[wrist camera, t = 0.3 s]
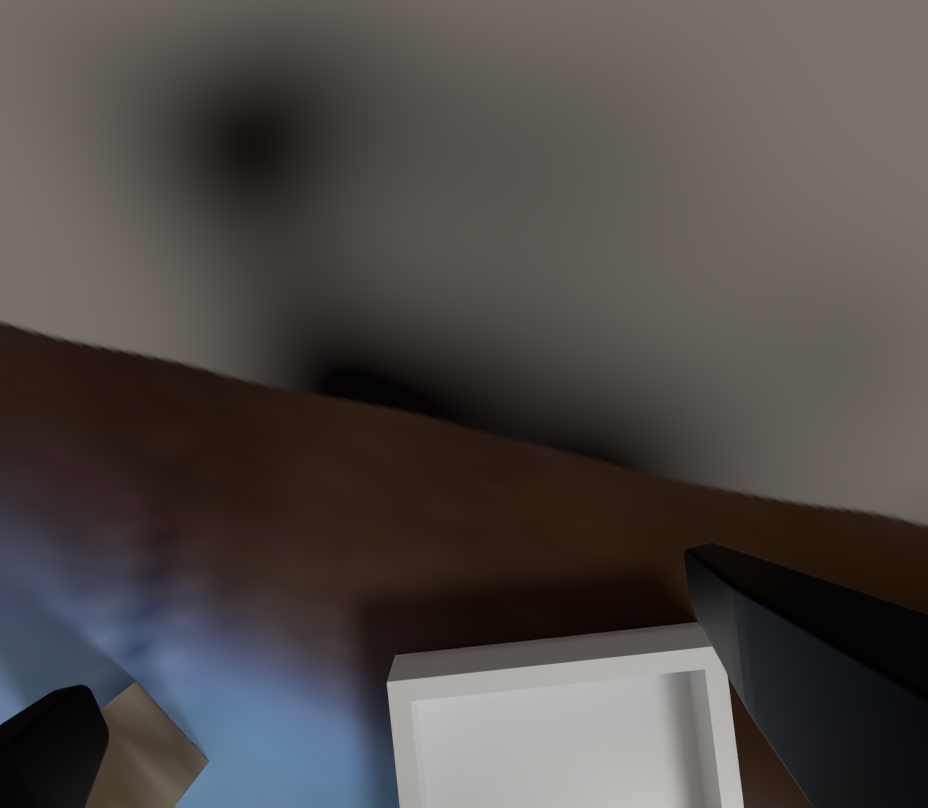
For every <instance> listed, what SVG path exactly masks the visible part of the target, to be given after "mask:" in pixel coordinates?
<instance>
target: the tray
mask: <svg viewBox="0 0 928 808" xmlns="http://www.w3.org/2000/svg"><path fill="white" fill-rule="evenodd" d="M387 689H388V699H389V708H390V718H391V728H392V737H393V747H394V756H395V766H396V775H397V785H398V795H399V804H400V808H744V805H743V797H742V789H741V781H740V772H739V764H738V756H737V748H736V740H735V732H734V724H733V716H732V708H731V700H730V692H729V684H728V676H727V672H726V671H725V669H724V667H723V665H722V663H721V661H720V659H719V658H718V656H717V654H716V652H715V650H714V648H713V646H712V644H711V643H710V641H709V639H708V637H707V635H706V633H705V631H704V629H703V628H702V626H701V625H700V624H699V623H698V622H694V623H685V624H676V625H667V626H657V627H648V628H639V629H630V630H621V631H612V632H603V633H593V634H584V635H575V636H566V637H557V638H548V639H539V640H529V641H520V642H511V643H502V644H493V645H484V646H475V647H465V648H456V649H447V650H438V651H429V652H420V653H411V654H401V655H395V657H394V661H393V664H392V667H391V670H390V673H389V676H388V680H387Z"/></svg>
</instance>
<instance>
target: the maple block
mask: <svg viewBox="0 0 928 808" xmlns="http://www.w3.org/2000/svg"><path fill="white" fill-rule="evenodd" d="M100 711H101V713H102V715H103V717H104V719H105V722H106V724H107V726H108V729H109V744H108V748H107V751H106V754H105V756H104V759H103V762H102V765H101V767H100V770H99V773H98V776H97V778H96V781H95V784H94V786H93V789H92V792H91V795H90V797H89V800H88V803H87V806H86V808H174V807H175V805H176V804H177V803H178V801H179V800H180V799H181V797H182V796H183V795H184V793H185V792H186V791H187V790H188V788H189V787H190V786H191V784H192V783H193V782H194V780H195V779H196V778H197V776H198V775H199V774H200V773H201V771H202V770H203V769H204V767H205V766H206V765H207V763H208V762H209V761H208V760H207V759H206V758H205V757H204V756H203V754H202V753H201V752H200V751H199V750H198V749H197V748H196V747H195V746H194V745H193V743H192V742H191V741H190V740H189V739H188V738H187V737H186V736H185V735H184V733H183V732H182V731H181V730H180V729H179V728H178V727H177V726H176V725H175V723H174V722H173V721H172V720H171V719H170V718H169V717H168V716H167V715H166V714H165V712H164V711H163V710H162V709H161V708H160V707H159V706H158V705H157V704H156V702H155V701H154V700H153V699H152V698H151V697H150V696H149V695H148V694H147V693H146V691H145V690H144V689H143V688H142V687H141V686H140V685H139V684H138V683H137V681H136V682H134V683H133V684H132V685H130V686H129V687H128V688H127V689H125V690H124V691H123V692H121V693H120V694H119V695H118V696H116V697H115V698H114V699H112V700H111V701H110V702H109V703H107V704H106V705H105V706H103V707H102V708H101V709H100Z"/></svg>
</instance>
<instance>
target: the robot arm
mask: <svg viewBox="0 0 928 808" xmlns="http://www.w3.org/2000/svg"><path fill="white" fill-rule="evenodd" d="M684 558H685V566H686V574H687V581H688V589H689V596H690V601H691V604H692V607H693V610H694V612H695V614H696V616H697V618H698V620H699V622H700V624H701V626H702V628H703V629H704V631H705V633H706V635H707V637H708V639H709V641H710V643H711V644H712V646H713V648H714V650H715V652H716V654H717V656H718V658H719V659H720V661H721V663H722V665H723V667H724V669H725V671H726V672H727V674H728V676H729V678H730V680H731V682H732V684H733V686H734V687H735V689H736V691H737V693H738V695H739V697H740V698H741V700H742V702H743V704H744V705H745V707H746V709H747V710H748V712H749V713H750V715H751V716H752V718H753V720H754V721H755V723H756V724H757V726H758V727H759V729H760V730H761V732H762V733H763V735H764V736H765V737H766V739H767V740H768V742H769V743H770V745H771V746H772V748H773V749H774V751H775V752H776V754H777V755H778V757H779V758H780V760H781V761H782V762H783V764H784V765H785V767H786V768H787V770H788V771H789V773H790V774H791V776H792V777H793V779H794V780H795V782H796V783H797V785H798V786H799V787H800V789H801V790H802V792H803V793H804V795H805V796H806V798H807V799H808V801H809V802H810V804H811V805H812V807H813V808H928V614H927V613H924V612H921V611H918V610H915V609H912V608H909V607H906V606H903V605H900V604H897V603H894V602H891V601H888V600H885V599H882V598H879V597H876V596H873V595H870V594H867V593H864V592H861V591H858V590H855V589H852V588H849V587H846V586H843V585H840V584H837V583H834V582H831V581H828V580H825V579H822V578H819V577H816V576H813V575H810V574H807V573H804V572H801V571H798V570H795V569H792V568H789V567H786V566H783V565H780V564H777V563H774V562H771V561H768V560H765V559H762V558H759V557H756V556H753V555H750V554H747V553H744V552H741V551H738V550H735V549H732V548H729V547H726V546H723V545H720V544H717V543H705V544H701V545H697V546H692V547H689V548H687V549H686V551H685V557H684ZM108 744H109V729H108V726H107V724H106V722H105V719H104V717H103V715H102V713H101V711H100V708H99V706H98V704H97V702H96V700H95V697H94V695H93V693H92V691H91V690H90V689H89V688H88V687H87V686H84V685H76V686H71V687H67V688H62V689H58V690H55V691H53V692H51V693H49V694H48V695H46V696H44V697H43V698H41V699H40V700H38V701H37V702H35V703H34V704H32V705H30V706H29V707H27V708H26V709H24V710H23V711H21V712H20V713H18V714H16V715H15V716H13V717H12V718H10V719H9V720H7V721H6V722H4V723H2V724H1V725H0V808H86V806H87V803H88V800H89V797H90V795H91V792H92V789H93V786H94V784H95V781H96V778H97V776H98V773H99V770H100V767H101V765H102V762H103V759H104V756H105V754H106V751H107V748H108Z"/></svg>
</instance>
